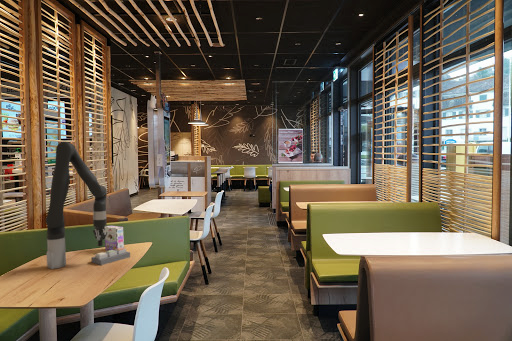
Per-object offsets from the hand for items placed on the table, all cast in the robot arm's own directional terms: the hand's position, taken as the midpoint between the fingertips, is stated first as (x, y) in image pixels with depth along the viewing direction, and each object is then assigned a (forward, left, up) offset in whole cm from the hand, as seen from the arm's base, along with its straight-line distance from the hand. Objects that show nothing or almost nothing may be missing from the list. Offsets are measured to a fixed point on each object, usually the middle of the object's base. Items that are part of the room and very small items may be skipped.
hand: (100, 246), depth 218 cm
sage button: (+7, 0, -7) cm, 10 cm away
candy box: (+21, +19, -11) cm, 30 cm away
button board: (+7, 0, -10) cm, 12 cm away
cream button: (0, 0, -7) cm, 7 cm away
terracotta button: (+13, 0, -7) cm, 15 cm away
